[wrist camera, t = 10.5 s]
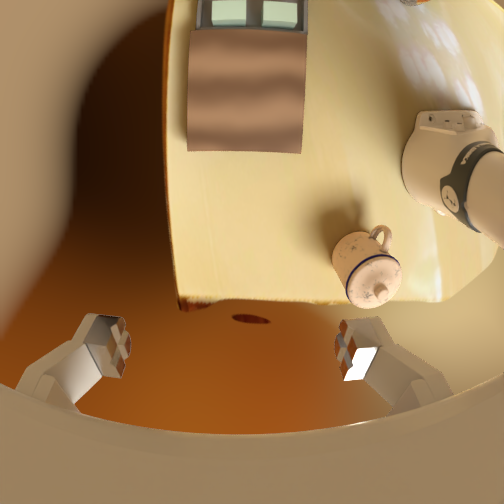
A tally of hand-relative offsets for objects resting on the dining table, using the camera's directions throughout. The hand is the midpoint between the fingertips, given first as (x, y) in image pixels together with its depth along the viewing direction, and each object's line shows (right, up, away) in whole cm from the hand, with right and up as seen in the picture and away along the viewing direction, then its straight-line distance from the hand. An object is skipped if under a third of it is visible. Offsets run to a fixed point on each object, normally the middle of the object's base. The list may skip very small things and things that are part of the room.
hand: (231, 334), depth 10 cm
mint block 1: (-2, +31, +16) cm, 35 cm away
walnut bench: (0, +24, +22) cm, 33 cm away
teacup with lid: (+18, +4, +34) cm, 39 cm away
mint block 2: (+4, +31, +16) cm, 35 cm away
